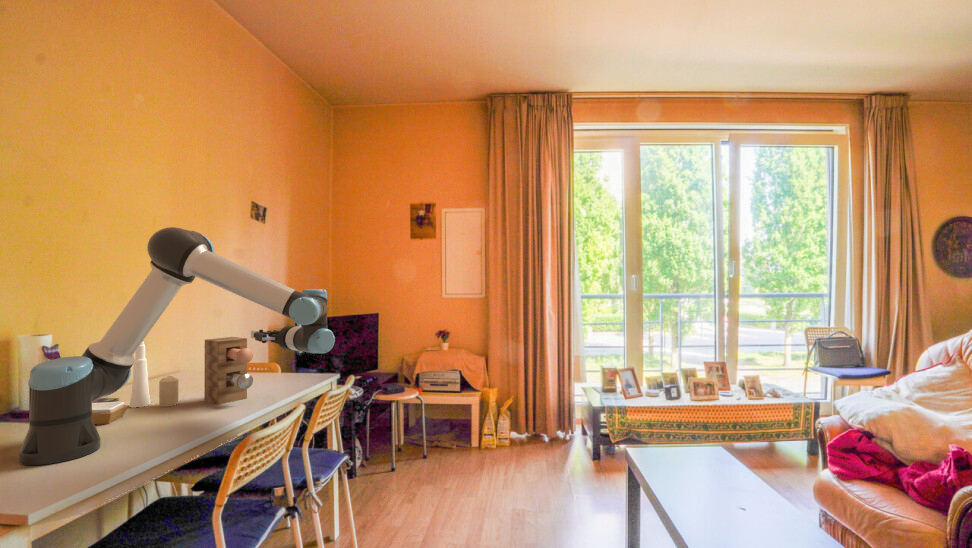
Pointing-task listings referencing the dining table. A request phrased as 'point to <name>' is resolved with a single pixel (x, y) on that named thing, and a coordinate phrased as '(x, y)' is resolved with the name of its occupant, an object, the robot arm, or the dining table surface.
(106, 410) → the soap dish
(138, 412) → the dining table surface
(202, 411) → the dining table surface
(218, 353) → the socket block
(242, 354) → the terracotta plug
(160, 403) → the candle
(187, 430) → the dining table surface
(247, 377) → the steel plug
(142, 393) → the cosmetic bottle
